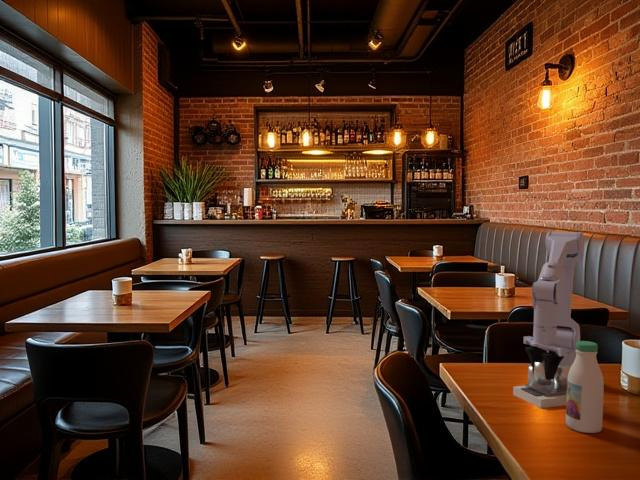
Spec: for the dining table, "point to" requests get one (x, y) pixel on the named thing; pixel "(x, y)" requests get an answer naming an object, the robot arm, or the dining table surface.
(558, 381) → the cylinder
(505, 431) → the dining table surface
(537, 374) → the cylinder
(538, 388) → the grey metal plate
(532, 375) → the cylinder
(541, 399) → the scale
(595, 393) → the milk bottle
